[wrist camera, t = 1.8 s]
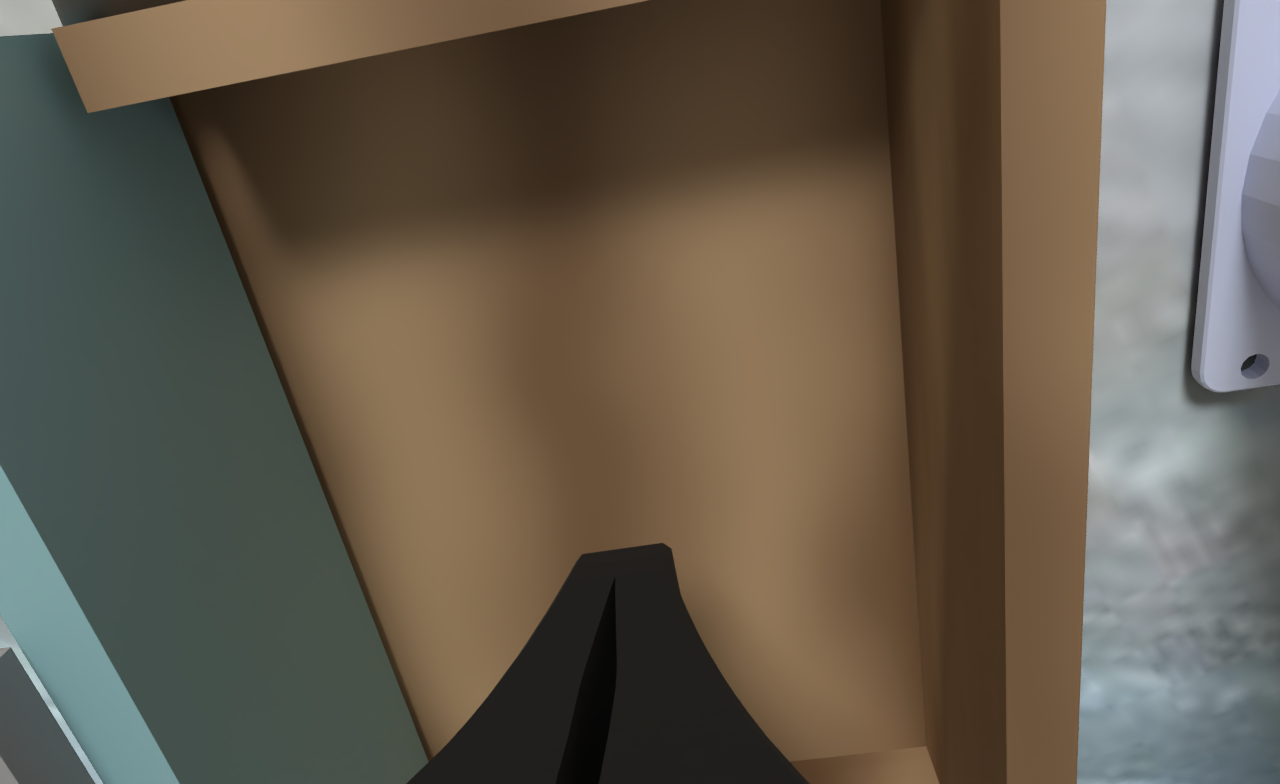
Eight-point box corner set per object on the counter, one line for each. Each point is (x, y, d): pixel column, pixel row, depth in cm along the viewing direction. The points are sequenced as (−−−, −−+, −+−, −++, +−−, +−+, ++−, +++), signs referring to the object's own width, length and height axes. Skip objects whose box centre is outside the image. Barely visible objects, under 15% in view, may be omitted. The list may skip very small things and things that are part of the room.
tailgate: (142, 27, 13) (-343, 57, 7) (459, 840, 20) (369, 1217, 14) (33, 50, 13) (-538, 101, 7) (386, 848, 21) (266, 1223, 14)
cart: (903, -210, 13) (1120, -394, 7) (947, 742, 22) (1066, 1050, 15) (132, -41, 15) (-273, -68, 8) (453, 798, 23) (374, 1105, 17)
